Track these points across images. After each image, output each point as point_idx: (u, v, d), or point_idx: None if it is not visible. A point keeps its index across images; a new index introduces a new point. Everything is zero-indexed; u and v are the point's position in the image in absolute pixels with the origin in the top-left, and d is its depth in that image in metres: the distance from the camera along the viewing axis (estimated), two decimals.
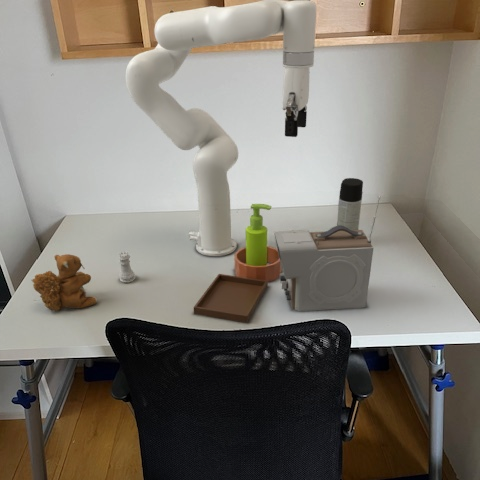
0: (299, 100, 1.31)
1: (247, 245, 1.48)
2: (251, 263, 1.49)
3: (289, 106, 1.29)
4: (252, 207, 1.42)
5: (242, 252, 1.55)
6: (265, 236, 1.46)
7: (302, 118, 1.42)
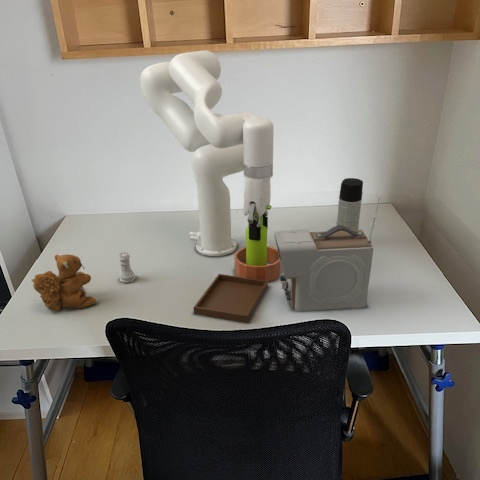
0: (259, 209, 1.38)
1: (247, 245, 1.48)
2: (251, 263, 1.49)
3: (250, 220, 1.37)
4: None
5: (242, 252, 1.55)
6: (265, 236, 1.46)
7: (263, 223, 1.48)
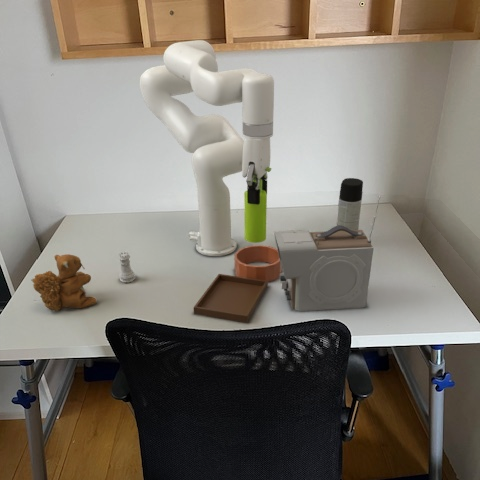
0: (259, 170, 1.32)
1: (246, 210, 1.42)
2: (250, 229, 1.44)
3: (249, 181, 1.32)
4: None
5: (242, 252, 1.55)
6: (264, 200, 1.40)
7: (263, 187, 1.42)
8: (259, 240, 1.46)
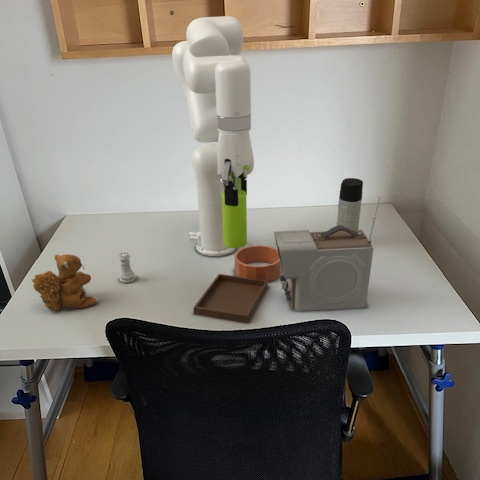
0: (236, 167, 1.19)
1: (223, 212, 1.29)
2: (228, 233, 1.31)
3: (225, 180, 1.19)
4: None
5: (242, 252, 1.55)
6: (244, 201, 1.28)
7: (242, 187, 1.30)
8: (239, 245, 1.33)
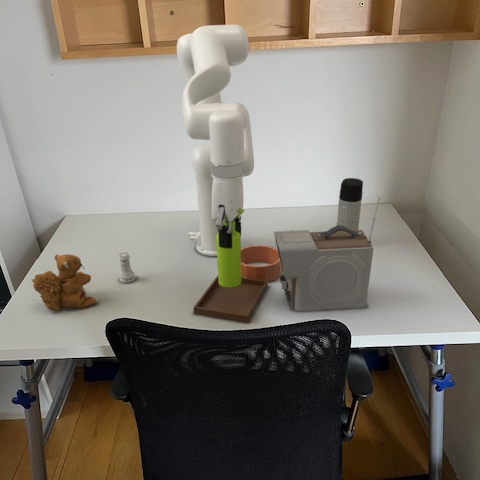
0: (229, 213, 1.22)
1: (218, 253, 1.32)
2: (223, 273, 1.34)
3: (219, 225, 1.21)
4: None
5: (242, 252, 1.55)
6: (238, 243, 1.30)
7: (236, 228, 1.32)
8: (233, 285, 1.35)
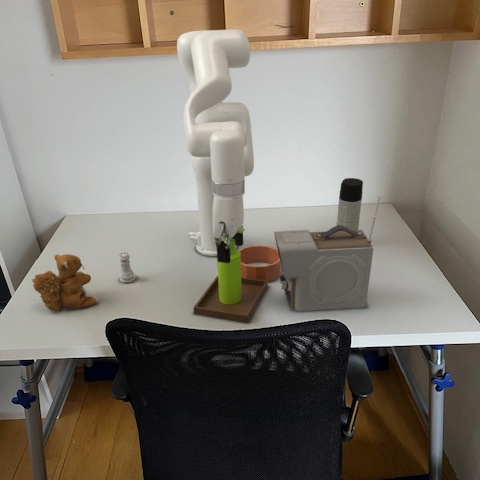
0: (230, 229, 1.24)
1: (219, 271, 1.35)
2: (223, 290, 1.36)
3: (218, 238, 1.22)
4: None
5: (242, 252, 1.55)
6: (238, 261, 1.33)
7: (238, 237, 1.35)
8: (234, 301, 1.38)
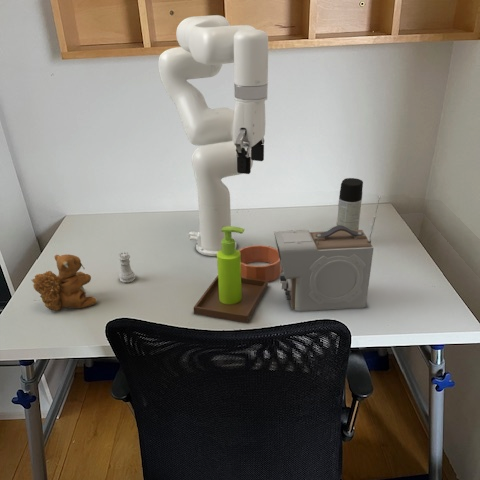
0: (251, 136, 1.22)
1: (219, 271, 1.35)
2: (223, 290, 1.36)
3: (239, 143, 1.20)
4: (223, 230, 1.29)
5: (242, 252, 1.55)
6: (238, 261, 1.33)
7: (259, 152, 1.33)
8: (234, 301, 1.38)
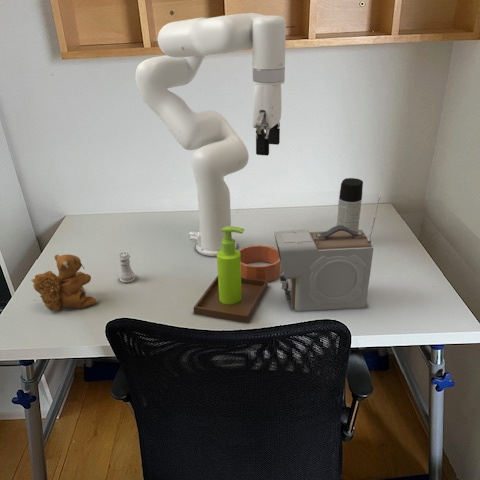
0: (270, 118, 1.26)
1: (219, 271, 1.35)
2: (223, 290, 1.36)
3: (259, 124, 1.24)
4: (223, 230, 1.29)
5: (242, 252, 1.55)
6: (238, 261, 1.33)
7: (275, 135, 1.38)
8: (234, 301, 1.38)
